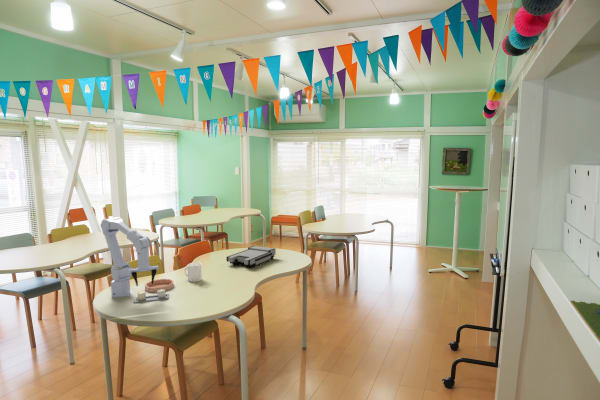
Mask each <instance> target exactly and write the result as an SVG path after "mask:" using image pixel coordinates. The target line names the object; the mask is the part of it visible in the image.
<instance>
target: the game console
mask: <svg viewBox="0 0 600 400" xmlns="http://www.w3.org/2000/svg"><path fill="white" fill-rule="evenodd" d="M276 253H277V251H276V248H274V247H265V246H259V245H258V246H257V245H252V246H249V247H248V248H247V249H245V250H242V251H239V252H237V253H233V254H231V255H228V256H226V262H227V263H229V264H231V265H233V264H235V266H240V264H241V265H244V266H246V267H247V266H249V267H248V268H251V267H254V268H256V267H255V266H257V265H259V266H261V265H263V264H262V263H264V262H266V263H268V262H270V261H269V260H271V259H273V260H274V258H275V255H276ZM267 261H268V262H267ZM271 261H272V260H271ZM242 263H244V264H242ZM260 264H261V265H260ZM264 264H265V263H264ZM257 267H258V266H257Z"/></svg>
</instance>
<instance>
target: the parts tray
mask: <svg viewBox="0 0 600 400" xmlns="http://www.w3.org/2000/svg"><path fill="white" fill-rule="evenodd" d="M169 295H170V293H165V296H166V297H165V298H160V299H158V294H154V295H146V300H143V301H138V296H137V297H134V301H133V304H138V303H146V302H157V301H164V300H165V301H167V300H169Z"/></svg>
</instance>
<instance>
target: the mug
mask: <svg viewBox="0 0 600 400" xmlns="http://www.w3.org/2000/svg"><path fill="white" fill-rule="evenodd" d="M184 275H186V277H187V280H188V282H190V283H197V282H200V281H202V276H203V275H202V263H201V262H190V263H188V264H187V265H186V266H185V267H184Z"/></svg>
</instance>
